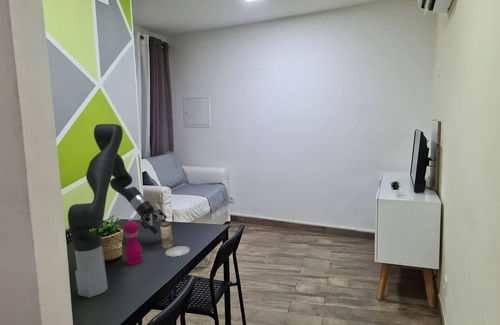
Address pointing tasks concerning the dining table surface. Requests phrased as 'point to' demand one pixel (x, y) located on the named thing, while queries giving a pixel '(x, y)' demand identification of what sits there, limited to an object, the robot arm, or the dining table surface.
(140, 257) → the pepper mill
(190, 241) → the dining table surface
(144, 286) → the dining table surface
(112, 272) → the dining table surface
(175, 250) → the tile
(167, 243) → the salt shaker
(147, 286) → the dining table surface
